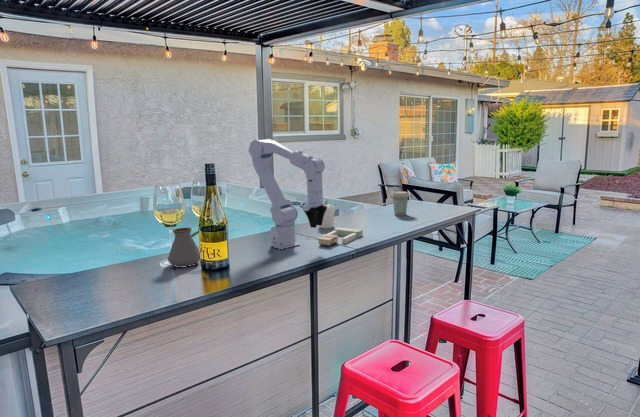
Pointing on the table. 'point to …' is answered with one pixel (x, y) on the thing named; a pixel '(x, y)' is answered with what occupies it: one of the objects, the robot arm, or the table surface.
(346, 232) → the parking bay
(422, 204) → the table surface
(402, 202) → the coffee cup
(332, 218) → the white cup
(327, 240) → the tan block
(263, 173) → the robot arm
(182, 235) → the coffee pot
